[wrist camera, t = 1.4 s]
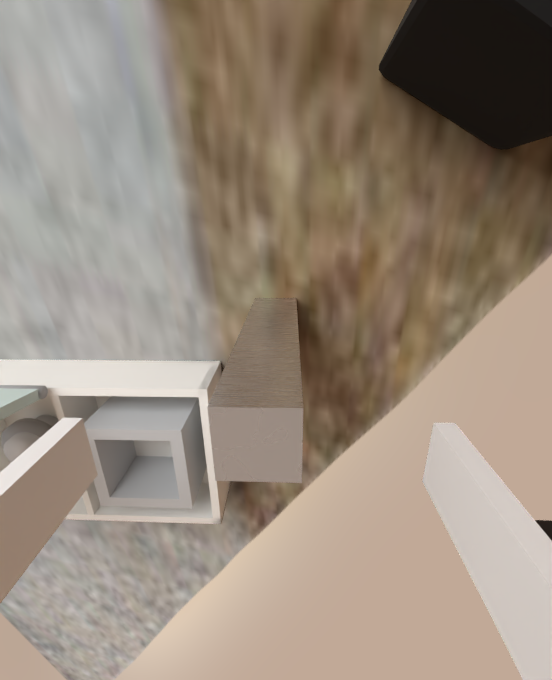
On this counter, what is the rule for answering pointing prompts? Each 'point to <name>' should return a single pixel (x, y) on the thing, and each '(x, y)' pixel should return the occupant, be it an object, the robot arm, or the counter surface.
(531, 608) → the robot arm
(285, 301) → the rectangular gray bar
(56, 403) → the housing
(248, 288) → the counter surface
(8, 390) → the lid
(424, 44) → the electronic device
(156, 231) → the counter surface
